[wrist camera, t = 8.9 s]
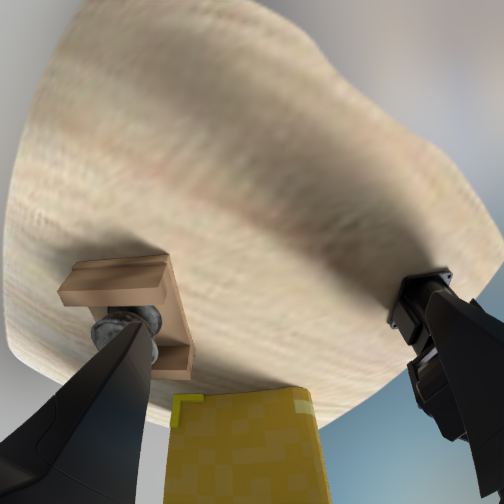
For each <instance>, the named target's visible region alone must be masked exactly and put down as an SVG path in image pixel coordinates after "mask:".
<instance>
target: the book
mask: <svg viewBox="0 0 504 504" xmlns="http://www.w3.org/2000/svg"><path fill="white" fill-rule="evenodd" d="M170 427H171V431H170V439H169V448H168V457H167V465H166V476H165V486H164V498H163V504H332V500H331V494H330V489H329V483H328V478H327V473H326V467H325V462H324V457H323V452H322V447H321V442H320V437H319V432H318V427H317V423H316V418H315V413H314V408H313V404H312V399H311V394H310V392H309V391H308V390H307V389H304V388H301V387H287V388H280V389H273V390H265V391H256V392H246V393H235V394H222V395H204V394H174V397H173V405H172V412H171V420H170Z"/></svg>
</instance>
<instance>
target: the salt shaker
mask: <svg viewBox="0 0 504 504" xmlns="http://www.w3.org/2000/svg"><path fill="white" fill-rule="evenodd" d="M107 313H108V315H106V316H105V317H103V318H102V319H101V320H100V321H98V322H96V323H95V324H94V326H93V327H92V331H91V338H92V340H93V343H94V345H95V346H96V348H97V349H98V351H100V350H101V349H102V348H103V347H104V346H105V345H106V344H107V343H108V342H109V341H110V340H111V339H112V338H113V337H114V336H116V335H117V334H118V333H119V332H120V331H121V330H122V329H123V328H124V327H125V326H126V325H127V324H128V323H130V322H135V321H141V322H144V323H145V325H146V327H147V330H148V332H149V335H150V337H151V339H152V343H153V353H152V364H153V363H154V362H155V361H156V360H157V357H158V349H157V345H156V340H155V335H156V334H158V333H159V331H160V330H161V328H162V317H161V315H160V313H159V311H158V310H157V308H156V307H155V306H154V305H145V306H107Z"/></svg>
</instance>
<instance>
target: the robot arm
mask: <svg viewBox="0 0 504 504" xmlns="http://www.w3.org/2000/svg"><path fill="white" fill-rule="evenodd" d="M452 276H453V273H452V272H451V271H450V270H448V271H442V272H436V273H429V274H423V275H416V276H410V277H406V278H405V279H404V280H403V282H402V286H401V289H400V293H399V296H398V300H397V303H396V306H395V310H394V313H393V316H392V319H391V323H390V327H391V328H392V329H399V331H400V333H401V334H402V336H403V338H404V340H405V341H406V343H407V345H409V346H411V345H412V347H413V349H414V351H415V353H416V354H417V357H416V358H415V359H414V360H413V361H410V362H409V363H408V364H407V367H408V371H409V372H408V373H409V376H410V380H411V384H412V387H413V391H414V394H415V398H416V402H417V405H418V407H419V409H423V411H424V412H425V413H426V414H427V415H428V416H430V417H432V418H434V419H435V421H436V423H437V425H438V427H439V429H440V432H441V434H442V436H443V437H444V438H446V439H448V440H450V441H452V442H453V441H455V440H456V439H461V440H464V441H467V442H469V444H470V448H471V452H472V456H473V461H474V465H475V469H476V474H477V479H478V485H479V490H480V496H481V498H484V497H486V496H488V495H490V494H492V493H494V492H496V491H498V494H499V496H500V499H501V500H500V502H499V504H504V323H503V322H501V321H500V320H498V319H496V318H495V317H493V316H491V315H489V314H487V313H486V312H485V311H484V310H483V309H482V307H481V306H480V305H479V304H478V303H477V302H476V301H475V300H474V298H473V299H472V300H471V301H470V302H469V303H470V304H469V303H467V302H465V301H464V300H462V299H460V298H459V297H458V296H457V295H456V294H455V293H454V291H453V290H452V289H451V288H450V287H449V285H450V282H451V279H452ZM407 282H408V283H407ZM152 353H153V343H152V339H151V337H150V335H149V332H148V330H147V327H146V325H145V323H144V322H141V321H135V322H130V323H128V324H127V325H126V326H125V327H124V328H123V329H122V330H121V331H120V332H119V333H118V334H117V335H116V336H114V337H113V338H112V339H111V340H110V341H109V342H108V343H107V344H106V345H105V346H104V347H103V348H102V349H101V350H100V351H99V352H97V353H96V354H95V355H94V356H93V357H92V358H91V359H90V360H89V361H88V362H87V363H86V364H85V365H84V366H83V367H82V368H81V369H80V370H79V371H78V372H77V373H76V374H75V375H74V376H73V377H71V378H70V379H69V380H68V381H67V382H66V383H65V384H64V385H63V386H62V387H61V388H60V389H59V390H58V391H57V392H56V394H55V395H53V396H52V397H51V398H50V399H49V400H48V401H47V402H46V403H45V404H44V405H43V406H42V407H41V408H40V409H39V410H38V411H37V412H36V413H35V414H33V415H32V416H31V417H30V418H29V419H28V420H27V421H26V422H24V423H23V424H22V425H21V426H20V427H18V428H17V429H16V430H15V431H14V432H13V433H11V434H10V435H9V436H8V437H7V438H5V439H4V440H3V441H2V442H0V504H135V496H136V485H137V476H138V467H139V459H140V451H141V443H142V436H143V429H144V423H145V416H146V410H147V404H148V399H149V392H150V379H151V365H152Z"/></svg>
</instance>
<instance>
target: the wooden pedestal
mask: <svg viewBox="0 0 504 504" xmlns="http://www.w3.org/2000/svg"><path fill="white" fill-rule="evenodd" d="M72 270H73V271H72V272H71V274H70V275H69V276H68V278H67V279H66V280H65V281H64V283H63V284H62V285H61V287H60V288H59V289H58V291H57V292H58V294H59V296H60V298H61V300H62V303H63V305H64V306H88V307H89V309H90V311H91V313H92V315H93V317H94V319H95V321H96V322H98V321H100V320H101V319H102V318H103V317H105V316H106V315H108V313H107V306H145V305H154V306H155V307H156V308H157V310H158V311H159V313H160V315H161V317H162V328H161V330H160V331H159V333H158V334H156V335H155V340H156V345H157V349H158V357H157V360H156V361H155V362H154V363H153V364H152V365H151V379H164V380H191V372H192V364H193V357H194V354H195V348H194V344H193V341H192V338H191V335H190V331H189V328H188V324H187V321H186V317H185V314H184V310H183V307H182V303H181V299H180V296H179V292H178V288H177V284H176V280H175V276H174V272H173V268H172V264H171V260H170V255H169V254H166V255H154V256H143V257H131V258H119V259H108V260H96V261H85V262H76V264H75V265H74V266H73V267H72Z"/></svg>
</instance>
